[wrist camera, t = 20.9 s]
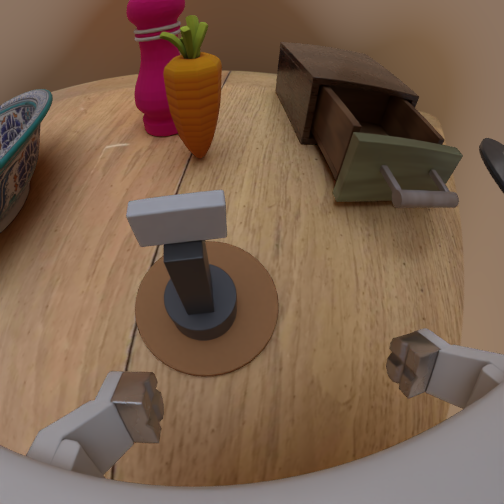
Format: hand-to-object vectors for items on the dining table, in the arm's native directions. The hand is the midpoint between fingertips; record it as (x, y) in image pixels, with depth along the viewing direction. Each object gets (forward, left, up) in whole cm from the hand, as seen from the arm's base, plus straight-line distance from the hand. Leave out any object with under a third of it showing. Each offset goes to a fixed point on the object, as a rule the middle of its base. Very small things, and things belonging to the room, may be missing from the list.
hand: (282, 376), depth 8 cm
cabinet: (-15, -31, -9) cm, 36 cm away
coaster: (+3, -6, -9) cm, 12 cm away
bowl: (+30, -20, -9) cm, 37 cm away
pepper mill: (+7, -30, -9) cm, 33 cm away
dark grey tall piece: (+3, -6, -8) cm, 11 cm away
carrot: (+3, -22, -9) cm, 24 cm away
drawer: (-15, -19, -8) cm, 25 cm away
